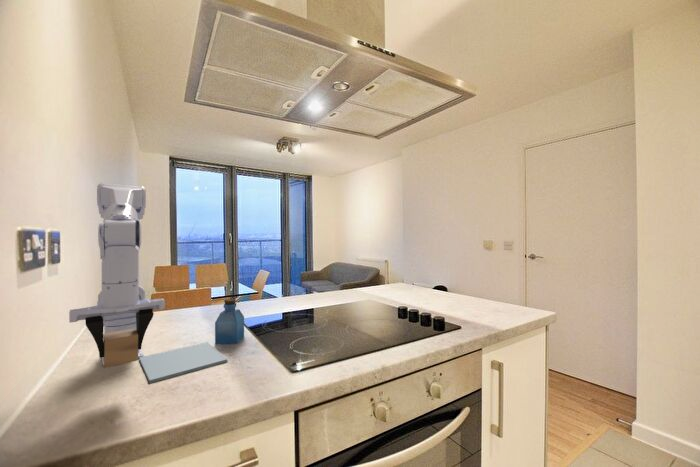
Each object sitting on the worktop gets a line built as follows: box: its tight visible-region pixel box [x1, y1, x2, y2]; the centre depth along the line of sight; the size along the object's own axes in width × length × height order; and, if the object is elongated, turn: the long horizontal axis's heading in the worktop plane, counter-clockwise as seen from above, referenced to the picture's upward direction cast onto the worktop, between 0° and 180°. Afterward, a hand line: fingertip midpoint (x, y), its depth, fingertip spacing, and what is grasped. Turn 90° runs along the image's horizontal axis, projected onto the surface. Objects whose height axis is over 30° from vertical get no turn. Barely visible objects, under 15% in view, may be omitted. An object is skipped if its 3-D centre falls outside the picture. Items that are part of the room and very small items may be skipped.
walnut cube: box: [103, 329, 139, 369], centre depth 58 cm, size 5×5×5 cm
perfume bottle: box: [214, 298, 245, 345], centre depth 89 cm, size 6×6×12 cm
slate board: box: [138, 341, 228, 384], centre depth 74 cm, size 16×16×1 cm
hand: (120, 351), depth 58 cm, fingers closed on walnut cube, 5 cm apart
